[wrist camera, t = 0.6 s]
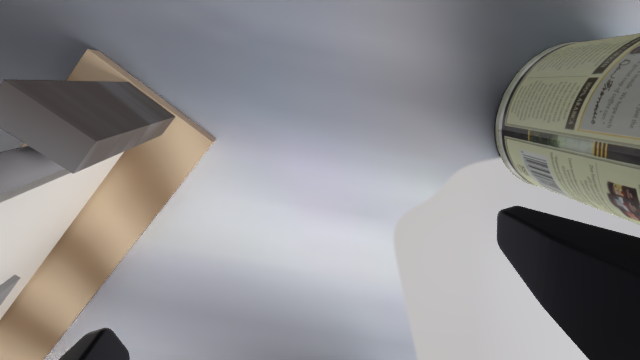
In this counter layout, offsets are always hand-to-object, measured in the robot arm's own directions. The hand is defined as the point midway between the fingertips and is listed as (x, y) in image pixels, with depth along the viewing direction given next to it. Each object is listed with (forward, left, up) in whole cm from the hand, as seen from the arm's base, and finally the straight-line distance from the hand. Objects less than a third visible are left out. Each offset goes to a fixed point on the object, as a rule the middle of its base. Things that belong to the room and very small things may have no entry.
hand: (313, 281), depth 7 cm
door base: (-4, +15, -15) cm, 22 cm away
